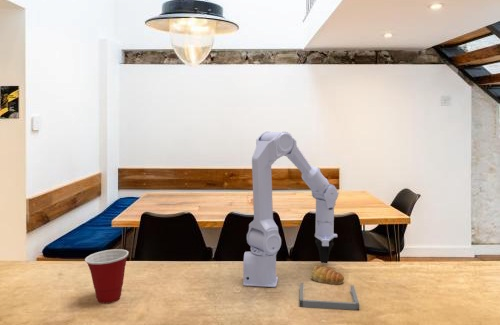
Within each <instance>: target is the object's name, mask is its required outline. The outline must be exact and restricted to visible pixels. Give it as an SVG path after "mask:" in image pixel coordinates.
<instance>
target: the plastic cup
mask: <svg viewBox="0 0 500 325" xmlns="http://www.w3.org/2000/svg"><path fill="white" fill-rule="evenodd" d="M128 256H129V251H128V250H126V249H122V248H118V249H117V248H113V249H106V250H101V251H98V252H97V251H96V252H94V253H91V254H89V255H88V256H86V257H85V258H84V261H85V263H86V264H87V266H88V268H89V271H90V274H91V280H92V285H93V288H94V291H95V297H96V299H97V302H98V303H100V304H110V303H115V302H117V301H119V300H120V299H121V296H122V291H123V284H124V279H125V271H126V270H125V269H126V265H127V261H128V260H127V258H128Z"/></svg>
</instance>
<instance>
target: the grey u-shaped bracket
mask: <svg viewBox="0 0 500 325" xmlns="http://www.w3.org/2000/svg"><path fill="white" fill-rule="evenodd" d="M349 291H350V294H351V297H352V302H349V301H329V300H316V299H315V300H314V299H312V300H311V299H310V300H309V299H304V282H299V307H300V308H315V309H317V308H318V309H329V310H330V309H333V310H346V311H347V310H350V311H351V310H352V311H360V302H359V299H358V295H357V292H356V288H355V286H354V285H353V284H352V285H350V290H349Z"/></svg>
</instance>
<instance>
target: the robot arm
mask: <svg viewBox="0 0 500 325" xmlns="http://www.w3.org/2000/svg"><path fill="white" fill-rule="evenodd" d="M255 141H256V142H255V143H256V146H255V149H254V152H253V155H252V157H251V173H252V200H253V202H252V203H253V204H252V205H253V220H252V221H251V222H250V223H249V224H248V231H247V233H246V243H247V244H248V245H249V246H250V251H245V252H244V254H243V264H242V265H243V268H242V269H243V271H242V272H243V273H242V276H243V279H242V280H243V281H242V282H243V283H242V285H243V286H247V287H266V288H277V285H278V280H279V277H278V275H277V254H278V252H279V250H280V248H281V246H282V237H281V236H280V233H279V226H278V225H277V224H276V222H275V220H274V214H273V213H274V209H273V182H272V181H273V178H272V165H273V164H274V163H275V162H276V161H277V160H279V159H280V158H282V157H286V158H287V159H288V160H289V161H290V162H291V163H292V164H293V165H294V167H296V168H297V169H298V171H300V172H301V179H302V181H303V182H304V183H305V184H306V186H308V188H309V189H310V190H311V197H312V198H314V200H315V233H314V237H315V245H316V247H317V249H318V255H319V261H320V263H321V264H328V262H329V258H330V253H331V250H332V248H333V247H334V245H335V244H334V238H338V234H337V233H335V232H334V231H335V230H334V227H335V226H334V224H335V222H334V221H335V206H336V201H337V200H338V198H339V192H338V189H337V187H336V186H335V185H334V184H331V183H330V182H329V180H328V178H326V177H325V176H324V175H323V173H322V172H321V169H320V167H317V166H315V165H311V164H310V163H309V161H308V159H306V157H305V156H304V154H303V152H302V151H301V150H300V148H299V147H298V145H297V140H296V139H295V138H293V135H292V134H291V133H289V132H288V131H264V132H263V133H261V134H260V135H259V136H258V137H257V138H256V140H255Z"/></svg>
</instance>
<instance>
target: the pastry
mask: <svg viewBox="0 0 500 325" xmlns="http://www.w3.org/2000/svg"><path fill="white" fill-rule="evenodd" d="M310 278H311V279H312V280H313V281H314V282H318V283H320V284H326V283H327V285H328V284H329V285H340V284H342V283H344V280H345V276H344V275H342V273H340V272H338V271H336V270H334V269H332V268H331V267H326V266H320V265H315V266H314V268H312V271H311V275H310Z"/></svg>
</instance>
